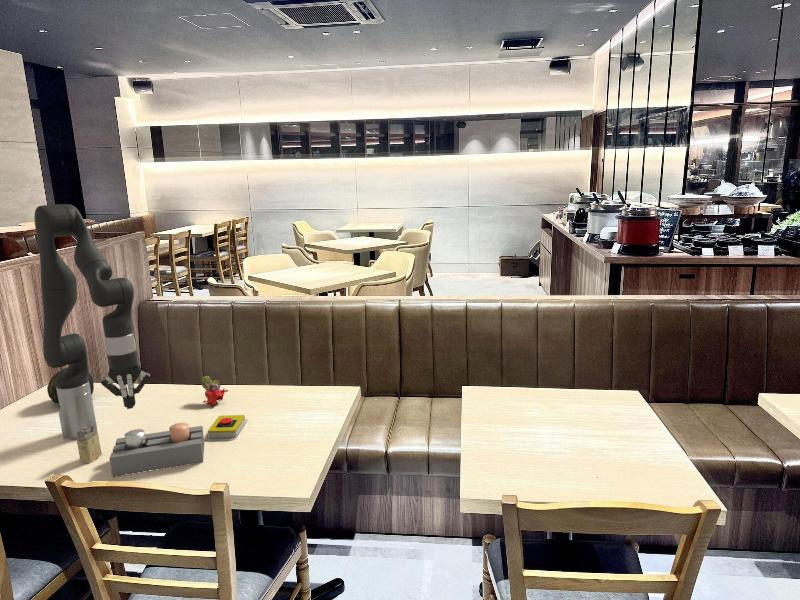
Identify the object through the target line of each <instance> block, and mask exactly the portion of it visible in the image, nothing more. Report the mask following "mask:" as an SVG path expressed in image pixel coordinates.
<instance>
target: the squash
mask: <svg viewBox="0 0 800 600" xmlns="http://www.w3.org/2000/svg"><path fill="white" fill-rule="evenodd" d="M66 369H67V367H65V368H63V369H62V370H60V371H58V372H56V373H55V374H54V375H52V377H51V378H50V380H49V381H48V384H47V386H46V387H47V389H46V390H47V395H48V397H49V398H50V400H51V401H52V402H53V403H54V404H56V405H59V400H58V394H57V389H56V384H55V379H56V377H57V376H58V375H60V374H61V373H63V372H64V371H65V370H66ZM88 378H89V384H90V390H91V396H92V395H93V393H94V390H95V389H94V388H95V387H94V384H95V383H94V382H95V381H94V378H93V375H91V373H90V372H89V375H88Z"/></svg>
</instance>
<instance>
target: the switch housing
mask: <svg viewBox="0 0 800 600" xmlns="http://www.w3.org/2000/svg"><path fill="white" fill-rule="evenodd" d="M189 435H190V440H189V441H183V442H177V443H171V437H170V430H165V431H159V432H151V433H145V439H146V447H145V448H139V449H133V450H127V448H126V442H125V436H124V437H119V438H116V441H115V445H114V446H113V448H112V452H111V453H110V456H109V463H110V469H111V475H112V478H116V476H118V477H122V476H121V475H124V476H126V475H125V474H130V475H133V474H132V473H136V474H139V473H138V472H141V473H144V472H143V471H147V472H150V471H149V470H153V471H157V470H156V469H159V470H164V469H163V468H165V469H170V468H169V467H171V468H176V466H177V467H181V466H182V465H183V466H187V464H189V465H194V464H199V463H204V455H205V454H204V453H205V436H204V429H203V425H199V426H198V425H197V426H191V427H190V426H189Z"/></svg>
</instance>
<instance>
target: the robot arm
mask: <svg viewBox="0 0 800 600" xmlns="http://www.w3.org/2000/svg"><path fill="white" fill-rule="evenodd" d="M34 226H35V234H36V240H37V247H38V253H39V263H40V288H41V298H42V299H41V300H42V311H43V332H42V333H43V334H42V352H43V357H44V361H45V363H46V365H47V366H49V368H52V369H59V368H62V367H65V366H67V367H66V368H67V369H66V370H65V371H64V372H63V373H61V374H60V375H58V376H57V377H56V379H55V384H56V389H57V394H58V400H59V404H58V405H59V408H60V409H59V410H58V417H59V422H60V423H59V424H60V427H61V428H60V429H61V432H62V433H61V434H62V437H63V440H65V439H66V440H67V439H68V440H77V437H78V435H77V432H78V431H80V430H81V428H82V427H86V426H88V425H89V426H92V425H94V429H97V430H98V426H97V420H96V413H95V407H94V402H93V397H92V395H91V390H90V384H89V378H88V375H89V373H90V371H89V369H90V368H89V363H88V353H87V347H86V342H85V341H84V339H83V337H82V335H80V334H78V333H70V334H64V335H62V333H63V328H64V325H65V323H66V321H67V318H68V317H69V315H70V314H71V313H72V311H73V309H74V307H75V304H76V302H77V300H78V284H77V283H78V282H77V277H76V275H75V273H74V272H73V270H72V269H71V268H70V266H68V265H67V263H66V262H65V261H64V260H63V258H61V256H60V255H59V253H58V251H57V247H56V245H55V238H60V237H61V238H62V237H71V236H72V237H74V238H75V239H76V240H77V241H76V245H75V249H74V255H73V258H74V259H73V260H74V264H75V265H76V267H77V269H78V270H79V272H80V273H81V274H82V276H83V277H84V279H85V282H86V284H87V286H88V290H89V295H90V299H91V302H93V304H94V305H96V306H97V307H100V308H106V307H111V306H112V307H113V306H116V307H115V309H114V310H113V311H111V312H109V313H107V314H106V315H104V316H103V317H102V320H101V321H102V328H103V333H104V347H105V352H106V357H107V365H108V372H107V376H106V377H104V378H103V379H102V380H101V382H100V384H101V385H102V386H103V387H104V388H105V389H107V390H108V391H109V392H110V393H112V394H113V395H114V396H115V397H122V402H123V406H124V408H126V409H127V410H130V409H134V407H135V405H136V403H137V401H136V397H135V395H136V394H139V393H140V392H141V391H142V389H144V386H145V384H146V383H148V380H149V378H150V376H151V373H150V372H145V371H144V370H142V369H143V368H142V367H141V366H140V364H139V356H138V350H137V342H136V338H135V336H134V331H133V324H132V311H133V304H134V298H135V290H134V285H133V284H132V282H131V280H129V279H128V278H126V277H117V278H112V276H113V268H112V267H111V266H110V264H109V262H108V261H107V260H106V258H105V257H104V255H102V253H101V252H100V250H99V249H98V247H97V245H96V243H95V241H94V239H93V237H92V235H91V232H90V230H89V228H88V226H87V224H86V222H85V220H84V218H83V216H82V214H81V212H80V210H79V209H78V208H77V207H76V206H74V205H73V204H67V203H64V204H63V203H60V204H59V203H58V204H45V205H44V204H43V205H39V206H36V208H35V210H34ZM138 378H139V379H140V381H139V384H137V386H136V387H135V383H136V381H137V380H138ZM114 383H115V384H116V385H118V386H116V385H115V384H114ZM89 428H90V427H89ZM90 429H91V428H90ZM88 430H89V429H88ZM80 435H81V433H80Z"/></svg>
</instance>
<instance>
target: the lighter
mask: <svg viewBox="0 0 800 600" xmlns="http://www.w3.org/2000/svg"><path fill="white" fill-rule="evenodd" d="M89 427H90V428H91V429H90V428H89ZM88 429H89V430H88ZM80 433H81V435H80ZM77 435H78V437H77V439H76V444H77V449H78V455H79V462H80V464H81V465H88V464H91V463H92V462H94V461H96V460H97V459H99V457H100V456H101V455H102V454H103V451H102V449H101V443H100V441H101V440H100V437H99V436H100V435H99V432H98V428H97V429H94V425H92V426H89V425H88V426H86V427H82V428H81V430H80V431H78V432H77Z"/></svg>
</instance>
